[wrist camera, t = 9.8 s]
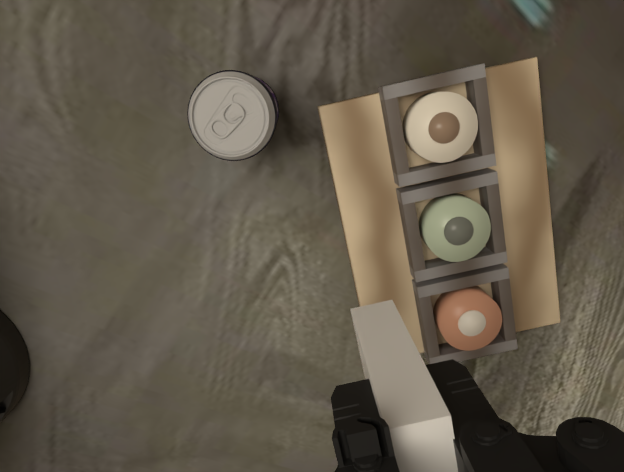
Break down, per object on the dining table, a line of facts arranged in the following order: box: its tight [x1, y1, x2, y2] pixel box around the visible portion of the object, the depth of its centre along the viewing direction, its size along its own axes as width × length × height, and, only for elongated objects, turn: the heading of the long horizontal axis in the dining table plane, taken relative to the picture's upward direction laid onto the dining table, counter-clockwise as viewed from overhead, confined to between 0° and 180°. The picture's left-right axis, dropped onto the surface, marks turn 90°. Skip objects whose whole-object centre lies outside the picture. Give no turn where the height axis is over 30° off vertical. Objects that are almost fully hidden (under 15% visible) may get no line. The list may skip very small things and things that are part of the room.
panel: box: [317, 57, 560, 364], centre depth 44 cm, size 18×25×4 cm
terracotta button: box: [433, 286, 502, 351], centre depth 45 cm, size 5×5×3 cm
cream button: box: [402, 92, 478, 163], centre depth 40 cm, size 5×5×3 cm
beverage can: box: [188, 70, 279, 161], centre depth 37 cm, size 6×6×12 cm
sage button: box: [419, 193, 491, 262], centre depth 43 cm, size 5×5×3 cm
